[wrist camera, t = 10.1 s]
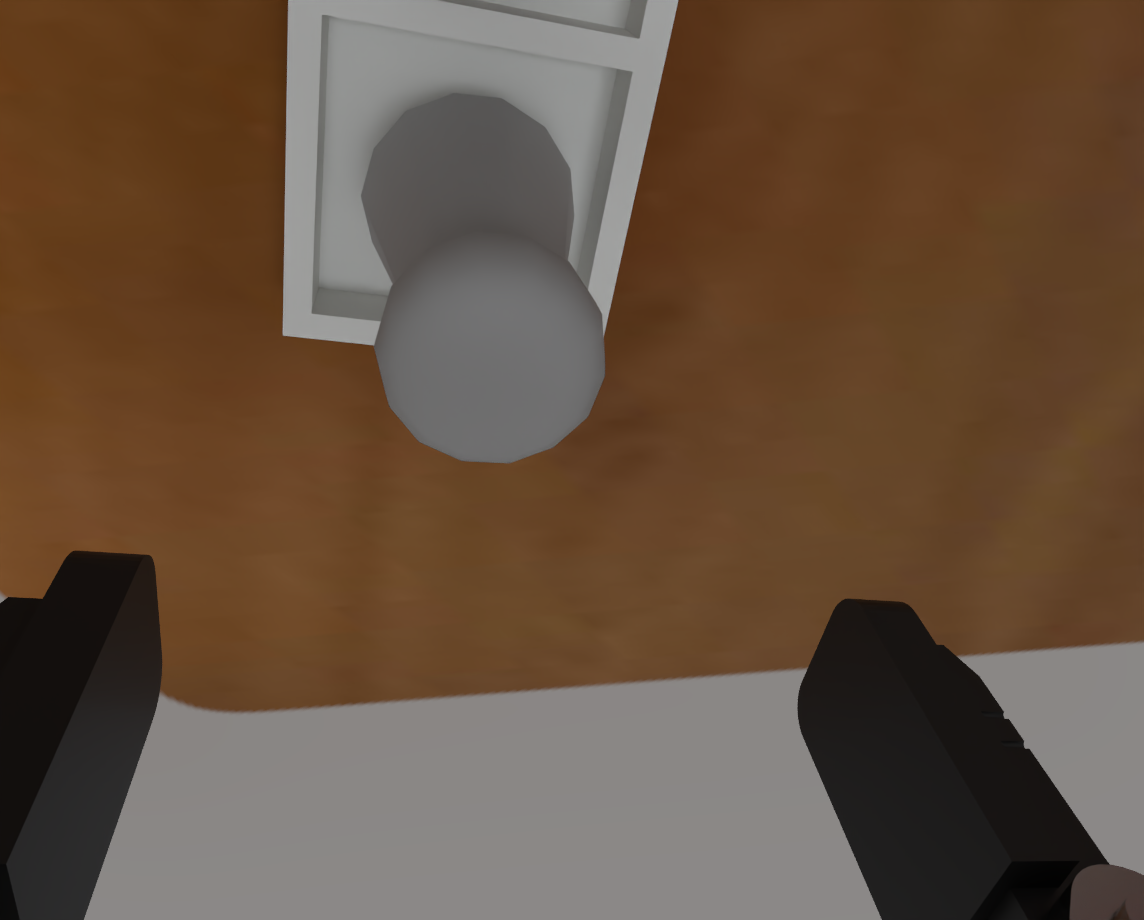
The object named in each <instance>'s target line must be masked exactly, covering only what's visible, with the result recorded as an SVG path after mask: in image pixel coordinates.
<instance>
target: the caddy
mask: <svg viewBox="0 0 1144 920" xmlns="http://www.w3.org/2000/svg"><path fill="white" fill-rule="evenodd" d="M677 4H678V0H288V46H287V107H286V168H285V228H284V289H283V336H293V337H302V338H311V339H320V340H330V341H339V342H348V343H357V344H366V345H374V344H375V340H376V337H377V333H378V329H379V326H380V323H381V319H382V316H383V312H384V309H385V306H386V302H387V299H388V295H389V292H390V288H391V286H392V285H393V284H392V282H391V280H390V278H389V276H388V274H387V272H386V270H385V268H384V265H383V263H382V261H381V259H380V257H379V255H378V253H377V251H376V249H375V247H374V245H373V243H372V240H371V236H370V232H369V227H368V223H367V219H366V215H365V211H364V207H363V203H362V199H361V193H362V189H363V186H364V182H365V178H366V175H367V171H368V167H369V164H370V160H371V156H372V153H373V149H374V148H375V146H376V145H377V144H378V143H379V142H380V141H381V139H382V138H383V137H384V136H385V135H386V133H387V132H388V131H389V130H390V129H391V128H392V126H393V125H394V124H395V123H396V122H397V121H398V119H399V118H400V117H401V116H402V115H403V113H404V112H405V111H407V110H408V109H411V108H414V107H417V106H419V105H422V104H425V103H428V102H430V101H433V100H436V99H438V98H441V97H444V96H447V95H449V94H452V93H459V94H468V95H477V96H486V97H496V98H502V99H504V100H505V101H507V102H508V103H510V104H511V105H513V106H514V107H516V108H517V109H519V110H520V111H522V112H523V113H525V114H526V115H528V116H529V117H531V118H532V119H534V120H535V121H537V122H538V123H540V124H541V125H543V126H545V127H546V129H547V131H548V132H549V134H550V136H551V137H552V139H553V141H554V142H555V144H556V146H557V147H558V149H559V151H560V152H561V154H562V156H563V157H564V159H565V161H566V162H567V164H568V166H569V167H570V170H571V181H572V193H573V205H574V222H573V229H572V236H571V243H570V250H569V257H568V261H569V262H570V264H571V265H572V267H573V268H574V270H575V271H576V273H577V274H578V276H579V277H580V279H581V280H582V282H583V283H584V285H585V286H586V288H587V290H588V291H589V293H590V294H591V296H592V297H593V299H594V300H595V302H596V304H597V306H598V307H599V309H600V311H601V313H602V321H603V336H604V333H605V329H606V324H607V320H608V315H609V311H610V306H611V302H612V297H613V293H614V288H615V284H616V279H617V275H618V270H619V266H620V261H621V257H622V252H623V248H624V243H625V239H626V234H627V230H628V225H629V221H630V216H631V212H632V207H633V203H634V198H635V194H636V189H637V185H638V180H639V176H640V171H641V167H642V162H643V158H644V153H645V149H646V144H647V140H648V135H649V131H650V126H651V122H652V117H653V113H654V108H655V104H656V99H657V95H658V90H659V86H660V81H661V77H662V72H663V68H664V63H665V59H666V54H667V50H668V45H669V40H670V36H671V31H672V27H673V22H674V18H675V13H676V9H677Z"/></svg>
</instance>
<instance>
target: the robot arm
mask: <svg viewBox="0 0 1144 920" xmlns="http://www.w3.org/2000/svg"><path fill="white" fill-rule="evenodd" d="M161 676H162V650H161V637H160V624H159V612H158V599H157V586H156V574H155V566H154V562H153V559H152V557H151V556H150V555H140V554H123V553H107V552H90V551H73V552H71V553H70V554H69V555H68V556H67V557H66V559H65V560H64V562H63V564H62V565H61V567H60V569H59V571H58V572H57V574H56V576H55V578H54V580H53V581H52V583H51V585H50V587H49V589H48V590H47V592H46V594H45V596H44V597H43V599H36V598H16V597H8V598H7V599H5V600H4V601H3V602H1V603H0V920H84V917H85V914H86V911H87V909H88V906H89V903H90V900H91V897H92V894H93V891H94V888H95V886H96V882H97V880H98V877H99V874H100V871H101V868H102V865H103V862H104V859H105V857H106V854H107V851H108V848H109V845H110V842H111V839H112V836H113V833H114V830H115V828H116V825H117V822H118V819H119V816H120V813H121V810H122V807H123V804H124V802H125V798H126V796H127V793H128V789H129V787H130V784H131V781H132V778H133V775H134V773H135V769H136V767H137V764H138V761H139V758H140V755H141V752H142V749H143V746H144V743H145V741H146V738H147V735H148V732H149V729H150V726H151V723H152V720H153V717H154V714H155V711H156V707H157V702H158V697H159V692H160V685H161ZM1003 713H1004V711H1003V710H1002V709H1001V707H1000V706H999V704H998V703H997V701H996V700H995V698H994V697H993V696H992V694H991V693H990V691H989V690H988V688H987V687H986V685H985V684H984V682H983V681H982V680H981V678H980V677H979V676H978V675H977V674H976V673H975V672H974V671H973V670H971V669H970V668H969V667H968V666H967V665H966V664H965V663H963V662H962V661H961V660H960V659H959V658H958V657H957V656H955V655H954V654H953V653H952V652H951V651H950V650H949V649H947V648H946V647H945V646H944V645H936V643H935V642H934V640H933V639H932V637H931V635H930V634H929V632H928V631H927V629H926V628H925V626H924V625H923V623H922V622H921V620H920V619H919V617H918V616H917V614H916V613H915V612H914V610H913V609H912V608H911V607H910V606H909V605H908V604H906V603H903V602H895V601H878V600H862V599H844V600H842V601H841V602H840V603H838V605H837V606H836V607H835V609H834V611H833V613H832V615H831V617H830V620H829V622H828V624H827V626H826V629H825V631H824V633H823V635H822V638H821V640H820V642H819V644H818V647H817V649H816V651H815V654H814V656H813V658H812V660H811V663H810V665H809V667H808V669H807V672H806V674H805V677H804V679H803V681H802V683H801V686H800V690H799V696H798V719H799V725H800V729H801V733H802V735H803V738H804V740H805V743H806V745H807V747H808V749H809V752H810V754H811V756H812V759H813V761H814V763H815V766H816V768H817V770H818V773H819V775H820V777H821V780H822V782H823V784H824V787H825V789H826V791H827V794H828V796H829V798H830V801H831V803H832V805H833V807H834V810H835V812H836V814H837V817H838V819H839V821H840V824H841V826H842V828H843V830H844V833H845V835H846V838H847V840H848V842H849V844H850V847H851V849H852V851H853V854H854V856H855V858H856V861H857V863H858V865H859V868H860V870H861V872H862V875H863V877H864V879H865V881H866V884H867V886H868V888H869V891H870V893H871V895H872V898H873V900H874V902H875V905H876V907H877V909H878V911H879V914H880V916H881V918H882V920H1144V875H1142V874H1139V873H1137V872H1135V871H1132V870H1129V869H1126V868H1123V867H1119V866H1114V865H1110V864H1109V863H1108V862H1107V860H1106V859H1105V858H1104V856H1103V855H1102V853H1101V852H1100V850H1099V849H1098V847H1097V846H1096V844H1095V843H1094V842H1093V840H1092V839H1091V837H1090V836H1089V835H1088V833H1087V831H1086V830H1085V829H1084V827H1083V826H1082V824H1081V823H1080V821H1079V820H1078V819H1077V817H1076V816H1075V814H1074V813H1073V811H1072V810H1071V808H1070V807H1069V805H1068V804H1067V803H1066V801H1065V800H1064V798H1063V797H1062V795H1061V794H1060V792H1059V791H1058V790H1057V788H1056V787H1055V785H1054V784H1053V782H1052V781H1051V779H1050V778H1049V777H1048V775H1047V774H1046V772H1045V771H1044V770H1043V768H1042V767H1041V765H1040V764H1039V762H1038V761H1037V759H1036V758H1035V757H1034V755H1033V753H1032V752H1031V751H1030V749H1025V748H1024V740H1023V739H1022V737H1021V736H1020V735H1019V733H1018V732H1017V730H1016V729H1015V727H1014V726H1013V724H1012V723H1011V721H1010V720H1009V719H1004V716H1003Z"/></svg>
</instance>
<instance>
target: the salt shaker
mask: <svg viewBox="0 0 1144 920" xmlns="http://www.w3.org/2000/svg"><path fill="white" fill-rule="evenodd" d="M361 199H362V203H363V207H364V211H365V215H366V219H367V223H368V227H369V232H370V236H371V240H372V243H373V245H374V247H375V249H376V251H377V253H378V255H379V257H380V259H381V261H382V263H383V265H384V268H385V270H386V272H387V274H388V276H389V278H390V280H391V282H392V284H393V285H392V286H391V288H390V292H389V295H388V299H387V302H386V306H385V309H384V312H383V316H382V319H381V323H380V326H379V329H378V333H377V337H376V340H375V344H374V349H375V353H376V357H377V361H378V365H379V369H380V373H381V377H382V381H383V385H384V389H385V393H386V396H387V400H388V403H389V407H390V408H391V409H392V410H393V412H394V413H395V414H396V415H397V416H398V418H399V419H400V420H401V421H402V422H403V423H404V425H405V426H406V427H407V428H408V429H409V431H410V432H411V433H412V434H413V435H414V436H415V438H416V439H417V440H418V441H419V442H420V443H423V444H425V445H427V446H429V447H432V448H434V449H436V450H438V451H441V452H443V453H445V454H447V455H450V456H452V457H454V458H456V459H459V460H461V461H473V462H493V463H511V462H514V461H517V460H520V459H523V458H525V457H528V456H531V455H534V454H536V453H539V452H542V451H545V450H547V449H550V448H553V447H554V446H555V445H557V444H558V443H559V442H560V441H561V440H562V439H563V438H565V437H566V436H567V435H568V434H569V433H570V432H571V431H573V430H574V429H575V428H576V427H577V426H578V425H579V424H581V423H582V422H583V421H584V420H585V419H586V418H587V417H588V416H589V413H590V411H591V408H592V406H593V404H594V401H595V399H596V396H597V394H598V391H599V389H600V387H601V384H602V382H603V379H604V377H605V352H604V336H603V321H602V313H601V311H600V309H599V307H598V306H597V304H596V302H595V300H594V299H593V297H592V296H591V294H590V293H589V291H588V290H587V288H586V286H585V285H584V283H583V282H582V280H581V279H580V277H579V276H578V274H577V273H576V271H575V270H574V268H573V267H572V265H571V264H570V262H569V261H568V257H569V250H570V243H571V236H572V229H573V222H574V205H573V193H572V181H571V170H570V167H569V166H568V164H567V162H566V161H565V159H564V157H563V156H562V154H561V152H560V151H559V149H558V147H557V146H556V144H555V142H554V141H553V139H552V137H551V136H550V134H549V132H548V131H547V129H546V127H545V126H543V125H541V124H540V123H538V122H537V121H535V120H534V119H532V118H531V117H529V116H528V115H526V114H525V113H523V112H522V111H520V110H519V109H517V108H516V107H514V106H513V105H511V104H510V103H508V102H507V101H505V100H504V99H502V98H496V97H486V96H477V95H468V94H459V93H452V94H449V95H447V96H444V97H441V98H438V99H436V100H433V101H430V102H428V103H425V104H422V105H419V106H417V107H414V108H411V109H408V110H407V111H405V112H404V113H403V115H402V116H401V117H400V118H399V119H398V121H397V122H396V123H395V124H394V125H393V126H392V128H391V129H390V130H389V131H388V132H387V133H386V135H385V136H384V137H383V138H382V139H381V141H380V142H379V143H378V144H377V145H376V146H375V148H374V149H373V153H372V156H371V160H370V164H369V167H368V171H367V175H366V178H365V182H364V186H363V189H362V193H361Z"/></svg>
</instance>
